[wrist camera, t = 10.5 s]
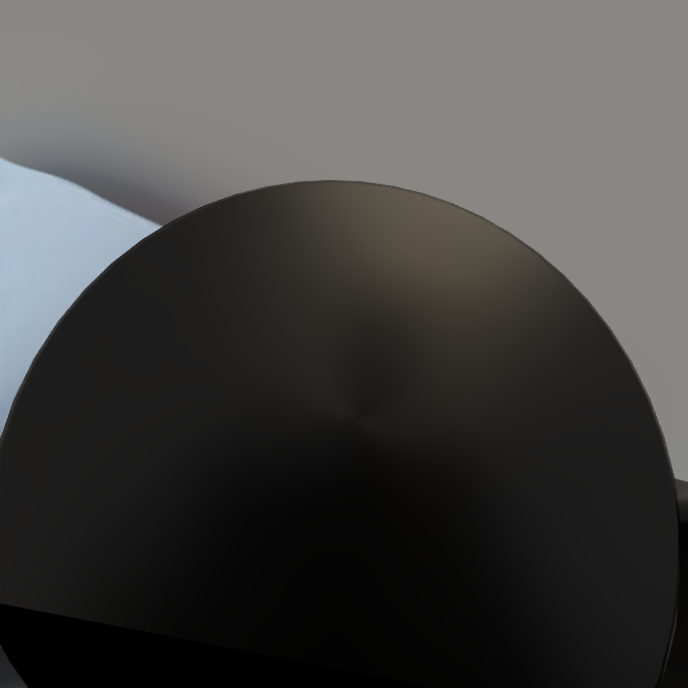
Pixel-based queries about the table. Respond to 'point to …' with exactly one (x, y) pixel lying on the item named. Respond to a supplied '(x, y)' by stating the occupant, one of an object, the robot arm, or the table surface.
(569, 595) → the canister
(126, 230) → the table surface
